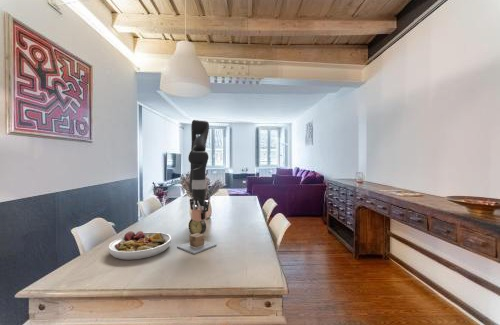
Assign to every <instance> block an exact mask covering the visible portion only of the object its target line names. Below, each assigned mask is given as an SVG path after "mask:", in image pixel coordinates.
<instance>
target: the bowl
mask: <svg viewBox="0 0 500 325" xmlns="http://www.w3.org/2000/svg"><path fill="white" fill-rule="evenodd" d="M171 242H172V236H171V235H170V234H168V233H165V232H157V231H156V232H155V231H153V232H152V231H151V232H143V231H141V230H139V231H137V232H136V233H135V232H134V231H128V232H125V234H124V236H123V237H120V238H117V239H115V240H113V241H112V242H110V243H109V244H108V251H109V254H110V255H111V256H113V257H114V258H115V259H119V260H127V261H129V260H130V261H131V260H132V261H133V260H141V259H147V258H151V257H153V256H157V255H159V254H160V253H163V252H165V250H167V249H168V248H169V246H170V244H171Z"/></svg>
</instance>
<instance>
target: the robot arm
mask: <svg viewBox="0 0 500 325" xmlns="http://www.w3.org/2000/svg"><path fill="white" fill-rule="evenodd" d="M209 130H210V124H209V121H207V120H199V119H193V120H192V122H191V126H190V131H191V145H190V146H191V148H190V149H191V150H190V152H189V153H188V156H187V158H188V162H189V163H190V169H189V170H190V173H189V182H188V190H189V193H191V196H192V198H189V207H190V210H191V211H192V210H194V209H198V208H199V209H200V210H201V220H204V219H205V212H206V213H207V212H209V206H210V201H209V200H206V196H207V183H206V168H207V165H208V160H209V154H208V152H206V150H207V149H206V148H207V147H206V146H207V139H208V136H209V133H210V132H209ZM197 135H198V136H197ZM191 219H192V212H191V213H190V220H191ZM204 221H205V222H206V220H204Z"/></svg>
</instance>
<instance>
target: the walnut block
mask: <svg viewBox="0 0 500 325" xmlns="http://www.w3.org/2000/svg"><path fill="white" fill-rule="evenodd" d="M204 240H205V234H204V233H203V234H200V233H196V234H191V235H189V242H190V246H193V247H196V248H197V247H199V246H202V245H204Z"/></svg>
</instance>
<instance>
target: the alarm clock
mask: <svg viewBox="0 0 500 325" xmlns="http://www.w3.org/2000/svg"><path fill="white" fill-rule="evenodd" d="M206 229H207V223H206V220H205V221H204V220H202V221H195V220H192V219H191V218H190V220H189V222H188V231H189V233H190V234H191V235H192V234H196V233H200V234H203V235H204V233H205V232H206Z"/></svg>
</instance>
